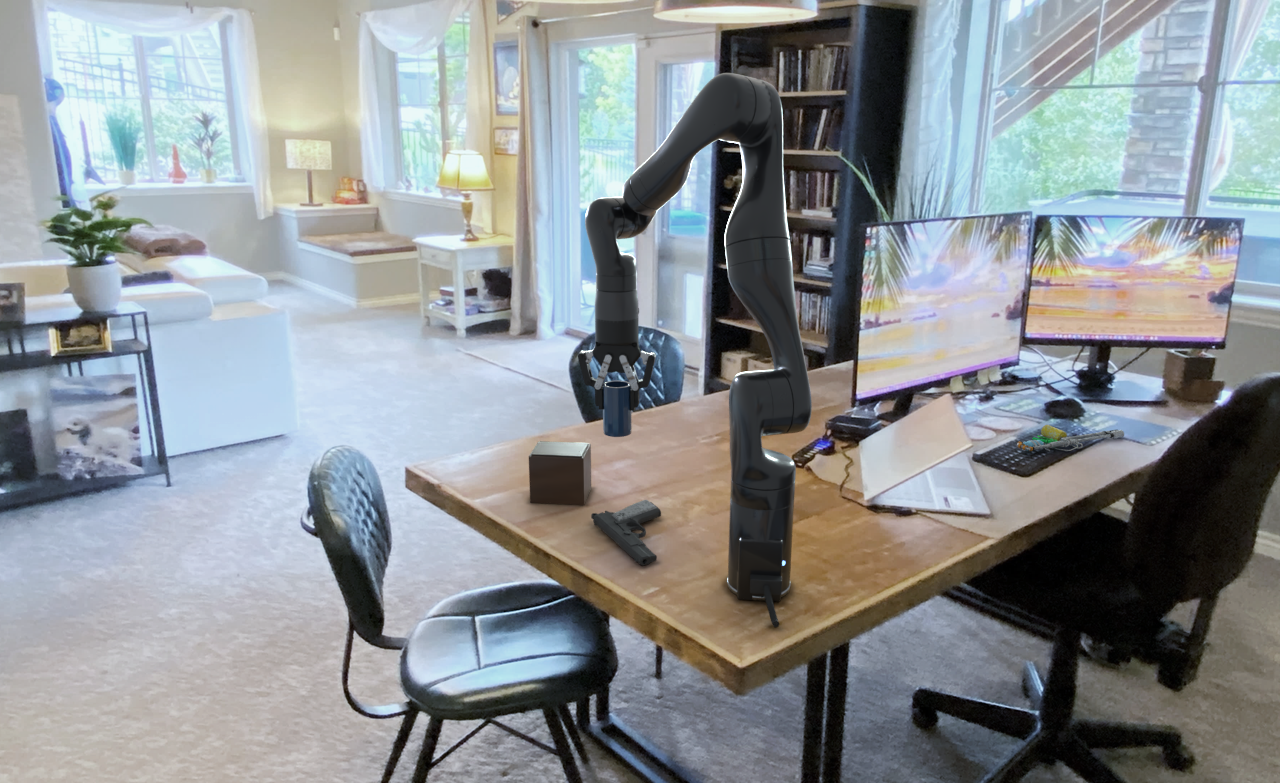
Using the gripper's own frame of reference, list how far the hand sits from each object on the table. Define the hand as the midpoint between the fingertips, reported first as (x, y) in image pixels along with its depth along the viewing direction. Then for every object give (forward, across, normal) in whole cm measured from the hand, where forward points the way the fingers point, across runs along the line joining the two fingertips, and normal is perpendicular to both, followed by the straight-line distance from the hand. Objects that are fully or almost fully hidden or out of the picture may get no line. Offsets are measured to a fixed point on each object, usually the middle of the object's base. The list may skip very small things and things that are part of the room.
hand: (617, 408), depth 164 cm
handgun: (+18, +6, -15) cm, 24 cm away
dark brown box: (+18, -11, +1) cm, 21 cm away
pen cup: (+4, 0, 0) cm, 4 cm away
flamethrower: (+18, +92, +43) cm, 103 cm away
